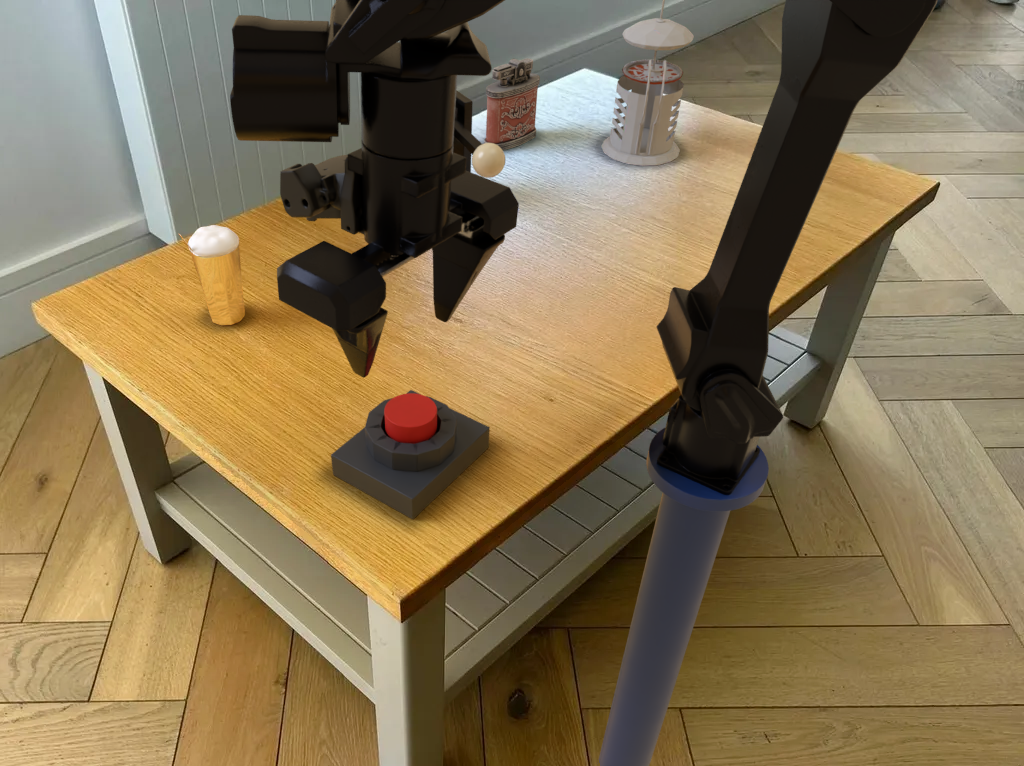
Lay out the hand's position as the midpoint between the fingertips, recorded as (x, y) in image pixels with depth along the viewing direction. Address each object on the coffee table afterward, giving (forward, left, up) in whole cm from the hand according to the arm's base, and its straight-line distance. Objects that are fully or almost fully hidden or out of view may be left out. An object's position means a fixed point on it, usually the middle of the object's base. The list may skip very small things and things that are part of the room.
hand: (402, 345), depth 66 cm
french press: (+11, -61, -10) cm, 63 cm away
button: (-1, +1, -6) cm, 7 cm away
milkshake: (+26, -4, -10) cm, 28 cm away
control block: (-1, +1, -10) cm, 10 cm away
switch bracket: (+23, -36, -10) cm, 44 cm away
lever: (+19, -34, -2) cm, 38 cm away
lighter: (+26, -54, -10) cm, 61 cm away
